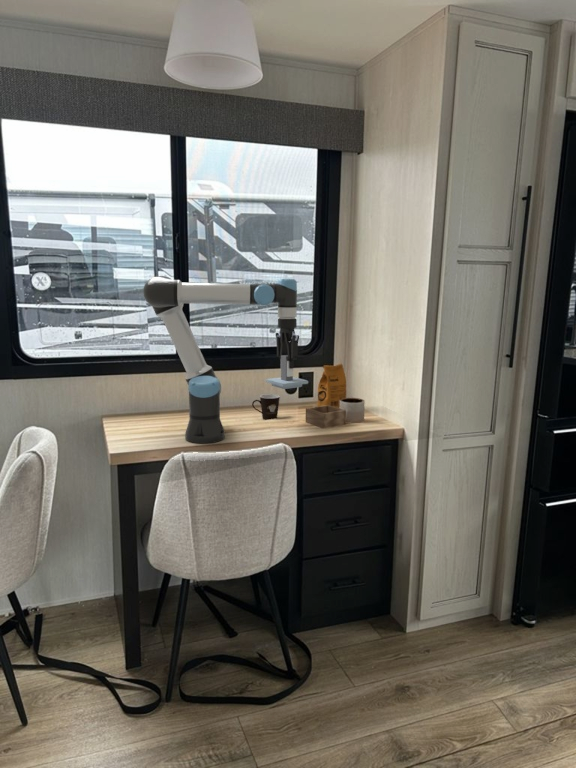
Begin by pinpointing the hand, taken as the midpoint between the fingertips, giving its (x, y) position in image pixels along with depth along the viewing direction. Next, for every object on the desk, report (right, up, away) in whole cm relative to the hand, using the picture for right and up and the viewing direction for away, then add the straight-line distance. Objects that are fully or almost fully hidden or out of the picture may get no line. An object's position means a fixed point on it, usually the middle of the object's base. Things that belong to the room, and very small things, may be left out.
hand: (286, 375), depth 238 cm
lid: (0, -4, +1) cm, 4 cm away
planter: (+28, -20, +15) cm, 38 cm away
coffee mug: (-9, -19, +20) cm, 29 cm away
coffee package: (+21, -16, +35) cm, 43 cm away
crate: (+16, -21, +8) cm, 28 cm away
